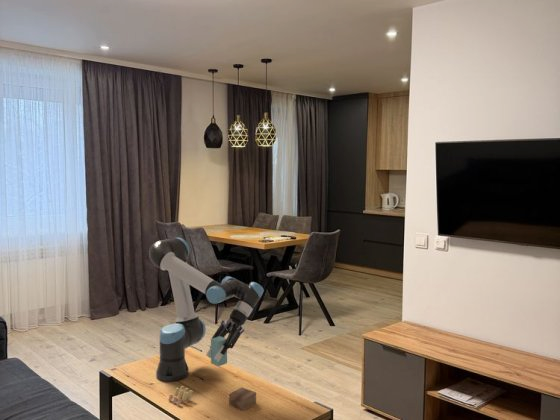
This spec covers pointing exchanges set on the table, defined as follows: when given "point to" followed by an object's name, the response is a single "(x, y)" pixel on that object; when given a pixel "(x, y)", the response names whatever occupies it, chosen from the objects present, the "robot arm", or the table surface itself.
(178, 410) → the table surface
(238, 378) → the table surface
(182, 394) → the ammunition
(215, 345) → the teal block
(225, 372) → the table surface
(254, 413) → the table surface
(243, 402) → the walnut base
